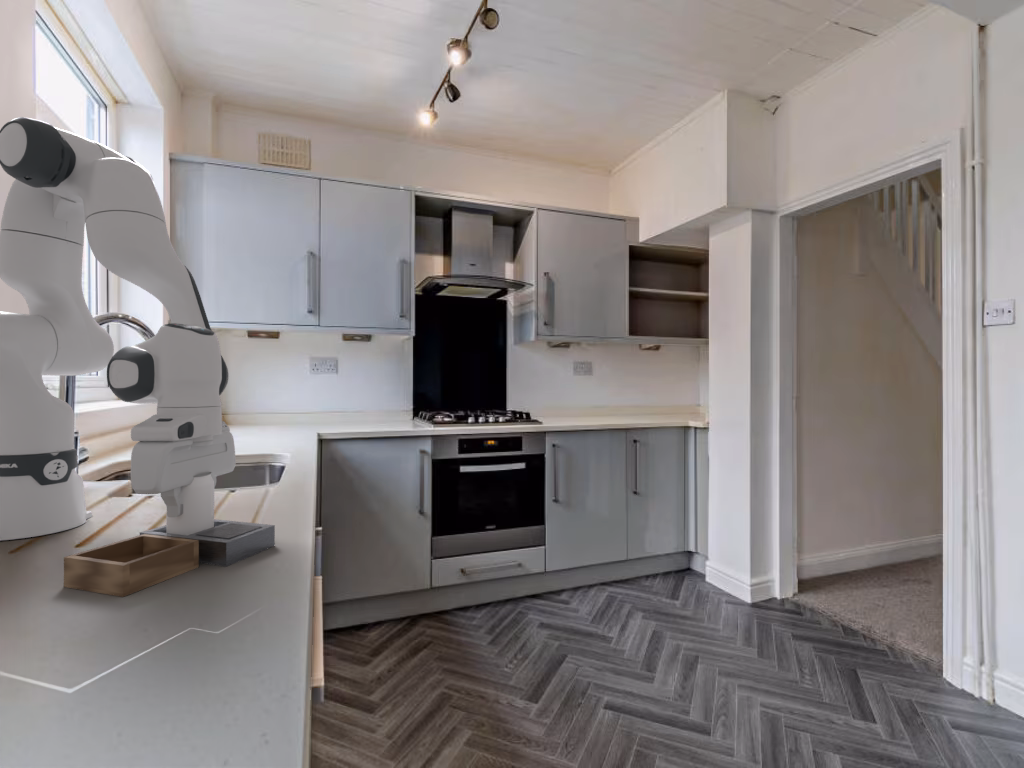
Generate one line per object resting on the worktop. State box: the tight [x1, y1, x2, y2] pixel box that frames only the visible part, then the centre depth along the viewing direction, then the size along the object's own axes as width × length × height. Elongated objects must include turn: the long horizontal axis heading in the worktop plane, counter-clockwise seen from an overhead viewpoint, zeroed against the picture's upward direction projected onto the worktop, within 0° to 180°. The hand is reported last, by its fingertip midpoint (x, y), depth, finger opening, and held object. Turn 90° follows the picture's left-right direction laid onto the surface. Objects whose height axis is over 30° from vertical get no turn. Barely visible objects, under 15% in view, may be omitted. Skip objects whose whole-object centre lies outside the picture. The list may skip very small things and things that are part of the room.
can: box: [165, 472, 215, 535], centre depth 81 cm, size 6×6×12 cm
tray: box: [139, 518, 276, 568], centre depth 80 cm, size 17×9×4 cm, turn 73°
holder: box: [63, 534, 200, 598], centre depth 69 cm, size 11×11×4 cm
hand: (190, 510), depth 81 cm, fingers closed on can, 5 cm apart
